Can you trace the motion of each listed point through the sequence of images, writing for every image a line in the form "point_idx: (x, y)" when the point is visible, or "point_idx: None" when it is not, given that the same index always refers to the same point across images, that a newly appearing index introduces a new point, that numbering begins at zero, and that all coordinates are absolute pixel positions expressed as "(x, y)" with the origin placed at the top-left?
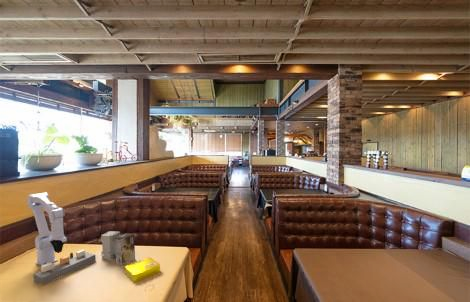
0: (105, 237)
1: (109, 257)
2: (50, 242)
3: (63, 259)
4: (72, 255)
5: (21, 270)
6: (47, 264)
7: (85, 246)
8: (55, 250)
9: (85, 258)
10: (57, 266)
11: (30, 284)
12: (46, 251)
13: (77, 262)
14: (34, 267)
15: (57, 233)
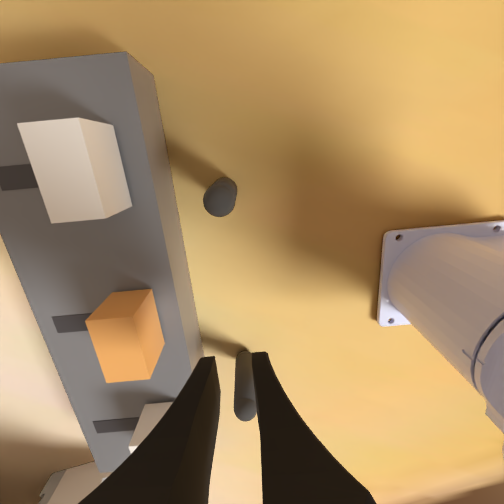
0: None
1: (65, 480)
2: (348, 494)
3: (94, 329)
4: (234, 400)
5: (500, 102)
6: (61, 181)
7: (414, 478)
8: (253, 371)
9: (88, 421)
10: (115, 257)
11: (117, 34)
12: (474, 318)
13: (56, 367)
14: (440, 186)
15: None
